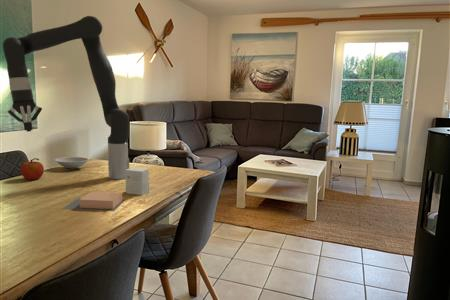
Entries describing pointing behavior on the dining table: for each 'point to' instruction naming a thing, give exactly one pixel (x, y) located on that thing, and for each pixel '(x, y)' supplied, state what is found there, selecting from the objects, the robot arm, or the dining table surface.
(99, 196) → the pink rectangular block
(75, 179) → the dining table surface
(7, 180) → the dining table surface
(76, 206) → the mat
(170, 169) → the dining table surface
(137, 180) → the small box
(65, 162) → the dish
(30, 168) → the fruit
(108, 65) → the robot arm
